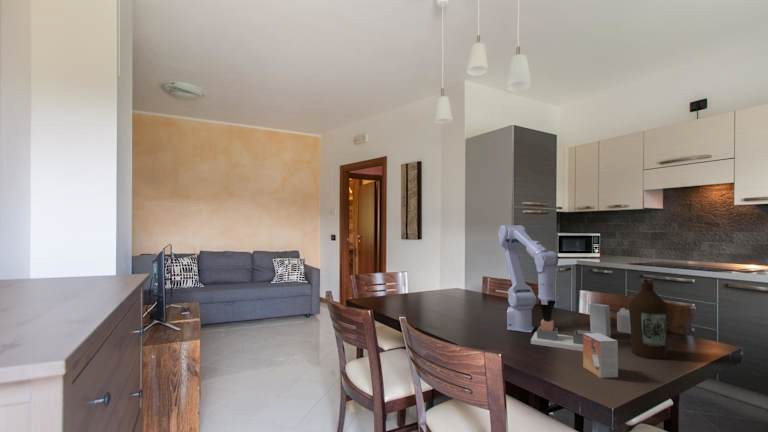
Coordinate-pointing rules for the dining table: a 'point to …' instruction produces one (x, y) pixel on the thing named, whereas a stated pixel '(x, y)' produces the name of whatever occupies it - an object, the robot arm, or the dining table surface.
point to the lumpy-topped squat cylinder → (623, 321)
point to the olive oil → (648, 322)
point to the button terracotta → (547, 325)
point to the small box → (600, 355)
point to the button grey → (580, 332)
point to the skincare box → (600, 319)
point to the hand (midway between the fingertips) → (547, 320)
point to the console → (558, 339)
